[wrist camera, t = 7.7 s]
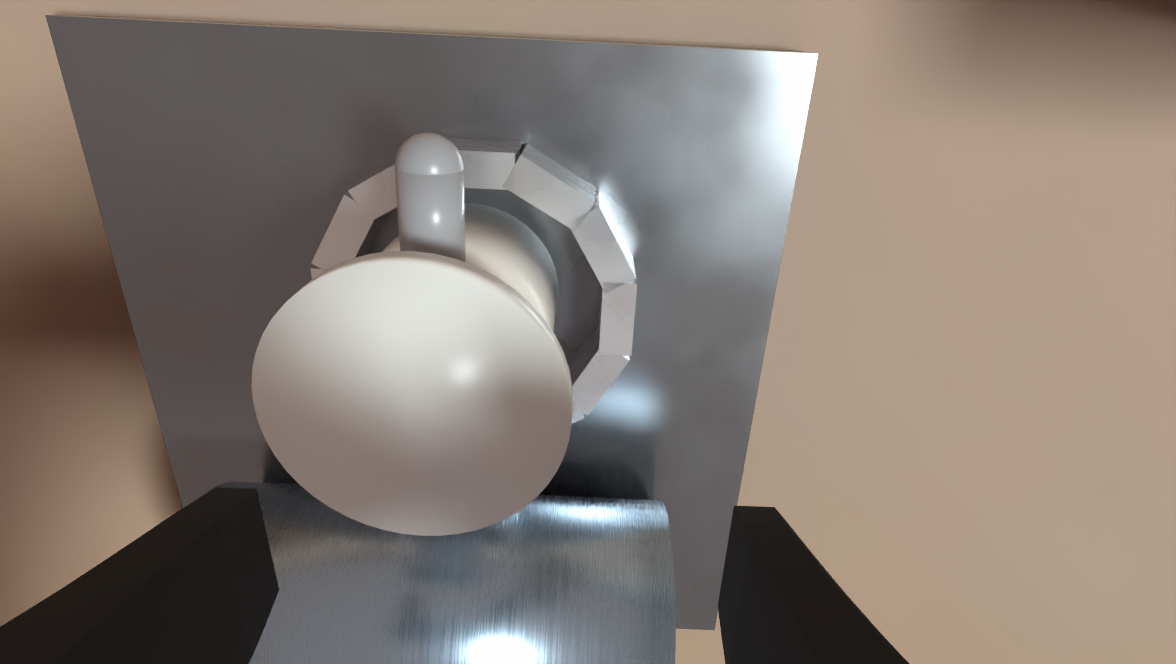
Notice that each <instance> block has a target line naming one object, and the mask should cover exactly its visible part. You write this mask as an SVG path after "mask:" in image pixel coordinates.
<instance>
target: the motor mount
mask: <svg viewBox="0 0 1176 664" xmlns="http://www.w3.org/2000/svg"><path fill="white" fill-rule="evenodd" d="M46 19H47V22H48V26H49V30H50V33H51V37H52V40H53V44H54V48H55V51H56V55H57V58H58V62H59V66H60V69H61V73H62V76H63V80H64V83H65V87H66V91H67V94H68V98H69V101H70V105H71V109H72V112H73V116H74V119H75V123H76V126H77V130H78V134H79V137H80V141H81V144H82V148H83V152H84V155H85V159H86V162H87V166H88V170H89V173H90V177H91V180H92V184H93V187H94V191H95V195H96V198H97V202H98V205H99V209H100V213H101V216H102V220H103V223H104V227H105V230H106V234H107V238H108V241H109V245H110V248H111V252H112V256H113V259H114V263H115V266H116V270H117V274H118V277H119V281H120V284H121V288H122V291H123V295H124V299H125V302H126V306H127V309H128V313H129V317H130V320H131V324H132V327H133V331H134V334H135V338H136V342H137V345H138V349H139V352H140V356H141V360H142V363H143V367H144V370H145V374H146V377H147V381H148V385H149V388H150V392H151V395H152V399H153V403H154V406H155V410H156V413H157V417H158V421H159V424H160V428H161V431H162V435H163V438H164V442H165V446H166V449H167V453H168V456H169V460H170V464H171V467H172V471H173V474H174V478H175V481H176V485H177V489H178V492H179V496H180V499H181V503H182V507H183V508H184V507H186V506H187V505H189V504H190V503H192V502H193V501H195V500H197V499H198V498H200V497H201V496H203V495H205V494H206V493H208V492H210V491H211V490H213V489H215V488H216V487H219V488H247V489H257V493H258V497H259V502H260V506H261V510H262V515H263V519H264V524H265V528H266V533H267V537H268V542H269V546H270V550H271V555H272V559H273V564H274V568H275V573H276V577H277V582H278V586H279V592H278V594H277V597H276V599H275V602H274V605H273V607H272V610H271V612H270V615H269V618H268V620H267V623H266V625H265V628H264V630H263V632H262V635H261V637H260V640H259V642H258V644H257V647H256V649H255V651H254V654H253V656H252V658H251V660H250V662H249V664H675V628H678V629H702V630H714V629H715V624H716V618H717V613H718V600H719V594H720V588H721V582H722V576H723V570H724V563H725V557H726V551H727V545H728V539H729V533H730V527H731V520H732V514H733V508H734V506H737V502H738V496H739V491H740V485H741V479H742V474H743V468H744V463H745V457H746V452H747V446H748V441H749V435H750V430H751V424H752V418H753V413H754V407H755V402H756V396H757V391H758V385H759V380H760V374H761V369H762V363H763V357H764V352H765V346H766V341H767V335H768V330H769V324H770V319H771V313H772V308H773V302H774V296H775V291H776V285H777V280H778V274H779V269H780V263H781V258H782V252H783V247H784V241H785V235H786V230H787V224H788V219H789V213H790V208H791V202H792V197H793V191H794V186H795V180H796V174H797V169H798V163H799V158H800V152H801V147H802V141H803V136H804V130H805V125H806V119H807V113H808V108H809V102H810V97H811V91H812V86H813V80H814V75H815V69H816V64H817V58H818V54H817V53H810V52H802V51H782V50H762V49H742V48H722V47H702V46H681V45H661V44H641V43H621V42H601V41H581V40H561V39H541V38H521V37H500V36H480V35H460V34H440V33H420V32H400V31H380V30H360V29H340V28H319V27H299V26H279V25H259V24H239V23H219V22H199V21H179V20H159V19H138V18H118V17H98V16H61V15H46ZM425 132H429V133H435V134H439V135H441V136H443V137H445V138H447V139H448V140H450V141H451V142H452V143H453V144H454V145H455V146H456V148H457V149H458V151H459V153H460V155H461V157H462V160H463V166H464V203H473V204H481V205H486V206H489V207H493V208H496V209H499V210H501V211H504V212H506V213H508V214H510V215H512V216H513V217H515V218H517V219H518V220H520V221H521V222H522V223H524V224H525V225H526V226H528V227H529V228H530V229H531V230H532V231H533V232H534V233H535V234H536V235H537V237H538V238H539V239H540V240H541V241H542V243H543V244H544V246H545V247H546V249H547V250H548V252H549V254H550V256H551V259H552V261H553V263H554V266H555V270H556V273H557V279H558V292H559V294H558V303H557V311H556V318H555V325H554V334H555V336H556V338H557V340H558V342H559V344H560V346H561V348H562V350H563V352H564V355H565V358H566V361H567V364H568V367H569V370H570V376H571V382H572V390H573V409H572V424H571V431H570V438H569V442H568V446H567V449H566V452H565V456H564V458H563V460H562V462H561V464H560V466H559V468H558V470H557V472H556V474H555V475H554V477H553V478H552V479H551V481H550V482H549V484H548V485H547V486H546V487H545V489H544V490H543V491H542V492H541V493H540V494H539V495H538V496H537V497H536V498H535V499H534V500H533V501H531V502H530V503H529V504H528V505H527V506H525V507H524V508H523V509H521V510H520V511H518V512H516V513H515V514H513V515H512V516H510V517H508V518H506V519H504V520H502V521H500V522H498V523H495V524H493V525H490V526H487V527H484V528H481V529H478V530H475V531H470V532H465V533H460V534H453V535H443V536H419V535H409V534H401V533H396V532H391V531H386V530H382V529H379V528H375V527H372V526H369V525H366V524H363V523H361V522H358V521H356V520H354V519H351V518H349V517H347V516H345V515H343V514H341V513H339V512H337V511H335V510H334V509H332V508H330V507H328V506H327V505H325V504H324V503H322V502H321V501H320V500H318V499H317V498H315V497H314V496H312V495H311V494H310V493H309V492H308V491H307V490H305V489H304V488H303V487H302V486H301V485H299V484H298V483H297V481H296V480H295V479H294V478H293V477H292V476H291V475H290V474H289V473H288V472H287V471H286V470H285V469H284V467H283V466H282V465H281V463H280V462H279V461H278V459H277V458H276V457H275V455H274V454H273V452H272V450H271V448H270V447H269V445H268V443H267V441H266V440H265V438H264V435H263V433H262V430H261V428H260V426H259V423H258V420H257V416H256V412H255V408H254V405H253V396H252V387H251V386H252V368H253V363H254V358H255V353H256V350H257V347H258V345H259V342H260V339H261V337H262V334H263V332H264V331H265V329H266V328H267V326H268V324H269V323H270V321H271V319H272V318H273V316H274V315H275V314H276V313H277V312H278V311H279V309H280V308H281V307H282V306H283V305H284V304H285V303H286V302H287V301H288V300H289V299H290V298H291V297H292V296H293V295H295V294H296V293H297V292H298V291H299V290H300V289H301V288H303V287H304V286H305V285H306V284H307V283H308V282H310V281H311V280H312V279H313V278H314V277H316V276H318V275H319V274H321V273H322V272H324V271H326V270H327V269H329V268H331V267H333V266H335V265H337V264H340V263H342V262H345V261H347V260H349V259H353V258H356V257H360V256H364V255H367V254H373V253H380V252H382V251H383V250H384V249H385V248H386V247H387V246H388V245H389V244H390V243H391V242H392V241H393V239H394V238H395V237H396V236H397V235H398V234H399V226H398V211H397V196H396V181H395V158H396V154H397V152H398V150H399V148H400V146H401V145H402V144H403V142H404V141H406V140H407V139H408V138H409V137H411V136H413V135H416V134H419V133H425Z"/></svg>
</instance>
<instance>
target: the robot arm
mask: <svg viewBox="0 0 1176 664" xmlns="http://www.w3.org/2000/svg"><path fill="white" fill-rule="evenodd" d="M278 592H279V586H278V582H277V577H276V573H275V568H274V564H273V559H272V555H271V550H270V546H269V542H268V537H267V533H266V528H265V524H264V519H263V515H262V510H261V506H260V502H259V497H258V493H257V489H247V488H219V487H216V488H215V489H213V490H211V491H210V492H208V493H206V494H205V495H203V496H201V497H200V498H198V499H197V500H195V501H193V502H192V503H190V504H189V505H187V506H186V507H184V508H183V509H181V510H180V511H178V512H176V513H175V514H173V515H172V516H170V517H169V518H167V519H166V520H164V521H163V522H161V523H160V524H158V525H157V526H156V527H154V528H153V529H151V530H150V531H148V532H147V533H145V534H144V535H142V536H141V537H139V538H138V539H136V540H135V541H133V542H132V543H130V544H129V545H127V546H126V547H124V548H123V549H121V550H120V551H118V552H117V553H115V554H114V555H112V556H111V557H109V558H108V559H106V560H105V561H103V562H102V563H100V564H99V565H97V566H96V567H94V568H93V569H91V570H89V571H88V572H86V573H85V574H83V575H82V576H80V577H79V578H77V579H76V580H74V581H73V582H71V583H70V584H68V585H67V586H65V587H64V588H62V589H61V590H59V591H57V592H56V593H54V594H52V595H51V596H49V597H48V598H46V599H44V600H43V601H41V602H40V603H38V604H36V605H35V606H33V607H32V608H30V609H28V610H27V611H25V612H24V613H22V614H20V615H19V616H17V617H15V618H14V619H12V620H11V621H9V622H7V623H6V624H4V625H3V626H1V627H0V664H249V662H250V660H251V658H252V656H253V654H254V651H255V649H256V647H257V644H258V642H259V640H260V637H261V635H262V632H263V630H264V628H265V625H266V623H267V620H268V618H269V615H270V612H271V610H272V607H273V605H274V602H275V599H276V597H277V594H278ZM718 611H719V619H720V627H721V635H722V642H723V649H724V656H725V663H726V664H909V663H908V662H907V661H906V660H905V659H904V658H903V657H902V656H901V655H900V654H899V652H898V651H897V650H896V649H895V648H894V647H893V646H892V645H891V644H890V643H889V642H888V641H887V639H886V638H885V637H884V636H883V635H882V634H881V633H880V632H879V631H878V630H877V629H876V627H875V626H874V625H873V624H872V623H871V622H870V621H869V619H868V618H867V617H866V616H865V615H864V614H863V613H862V612H861V610H860V609H859V608H858V607H857V606H856V605H855V604H854V603H853V601H852V600H851V599H850V598H849V597H848V596H847V595H846V593H845V592H844V591H843V590H842V589H841V588H840V586H839V585H838V584H837V583H836V582H835V580H834V579H833V578H832V577H831V576H830V574H829V573H828V572H827V571H826V570H825V568H824V567H823V566H822V565H821V564H820V562H819V561H818V560H817V559H816V558H815V556H814V555H813V554H812V553H811V551H810V550H809V549H808V548H807V546H806V545H805V544H804V543H803V541H802V540H801V539H800V538H799V537H798V535H797V534H796V533H795V532H794V530H793V529H792V528H791V527H790V525H789V524H788V523H787V522H786V520H785V519H784V518H783V517H782V515H781V514H780V513H779V512H778V511H777V510H776V509H775V508H774V507H753V506H734V508H733V514H732V520H731V527H730V533H729V539H728V545H727V551H726V557H725V563H724V570H723V576H722V582H721V588H720V594H719V600H718Z"/></svg>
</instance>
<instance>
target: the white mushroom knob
mask: <svg viewBox="0 0 1176 664" xmlns="http://www.w3.org/2000/svg"><path fill="white" fill-rule="evenodd" d="M395 181H396V196H397V211H398V226H399V234H398V235H397V236H396V237H395V238H394V239H393V241H392V242H391V243H390V244H389V245H388V246H387V247H386V248H385V249H384V250H383V251H382V252H380V253H373V254H367V255H364V256H360V257H356V258H353V259H349V260H347V261H345V262H342V263H340V264H337V265H335V266H333V267H331V268H329V269H327V270H326V271H324V272H322V273H321V274H319V275H318V276H316V277H314V278H313V279H312V280H311V281H310V282H308V283H307V284H306V285H305V286H304V287H303V288H301V289H300V290H299V291H298V292H297V293H296V294H295V295H293V296H292V297H291V298H290V299H289V300H288V301H287V302H286V303H285V304H284V305H283V306H282V307H281V308H280V309H279V311H278V312H277V313H276V314H275V315H274V316H273V318H272V319H271V321H270V323H269V324H268V326H267V328H266V329H265V331H264V332H263V334H262V337H261V339H260V342H259V345H258V347H257V350H256V353H255V358H254V363H253V368H252V386H251V387H252V396H253V405H254V408H255V412H256V416H257V420H258V423H259V426H260V428H261V430H262V433H263V435H264V438H265V440H266V441H267V443H268V445H269V447H270V448H271V450H272V452H273V454H274V455H275V457H276V458H277V459H278V461H279V462H280V463H281V465H282V466H283V467H284V469H285V470H286V471H287V472H288V473H289V474H290V475H291V476H292V477H293V478H294V479H295V480H296V481H297V483H298V484H299V485H301V486H302V487H303V488H304V489H305V490H307V491H308V492H309V493H310V494H311V495H312V496H314V497H315V498H317V499H318V500H320V501H321V502H322V503H324V504H325V505H327V506H328V507H330V508H332V509H334V510H335V511H337V512H339V513H341V514H343V515H345V516H347V517H349V518H351V519H354V520H356V521H358V522H361V523H363V524H366V525H369V526H372V527H375V528H379V529H382V530H386V531H391V532H396V533H401V534H409V535H419V536H443V535H453V534H460V533H465V532H470V531H475V530H478V529H481V528H484V527H487V526H490V525H493V524H495V523H498V522H500V521H502V520H504V519H506V518H508V517H510V516H512V515H513V514H515V513H516V512H518V511H520V510H521V509H523V508H524V507H525V506H527V505H528V504H529V503H530V502H531V501H533V500H534V499H535V498H536V497H537V496H538V495H539V494H540V493H541V492H542V491H543V490H544V489H545V487H546V486H547V485H548V484H549V482H550V481H551V479H552V478H553V477H554V475H555V474H556V472H557V470H558V468H559V466H560V464H561V462H562V460H563V458H564V456H565V452H566V449H567V446H568V442H569V438H570V431H571V424H572V409H573V390H572V382H571V376H570V370H569V367H568V364H567V361H566V358H565V355H564V352H563V350H562V348H561V346H560V344H559V342H558V340H557V338H556V336H555V334H554V325H555V318H556V311H557V303H558V294H559V292H558V279H557V273H556V270H555V266H554V263H553V261H552V259H551V256H550V254H549V252H548V250H547V249H546V247H545V246H544V244H543V243H542V241H541V240H540V239H539V238H538V237H537V235H536V234H535V233H534V232H533V231H532V230H531V229H530V228H529V227H528V226H526V225H525V224H524V223H522V222H521V221H520V220H518V219H517V218H515V217H513V216H512V215H510V214H508V213H506V212H504V211H501V210H499V209H496V208H493V207H489V206H486V205H481V204H473V203H464V166H463V160H462V157H461V155H460V153H459V151H458V149H457V148H456V146H455V145H454V144H453V143H452V142H451V141H450V140H448V139H447V138H445V137H443V136H441V135H439V134H435V133H429V132H425V133H419V134H416V135H413V136H411V137H409V138H408V139H407V140H406V141H404V142H403V144H402V145H401V146H400V148H399V150H398V152H397V154H396V158H395Z"/></svg>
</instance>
